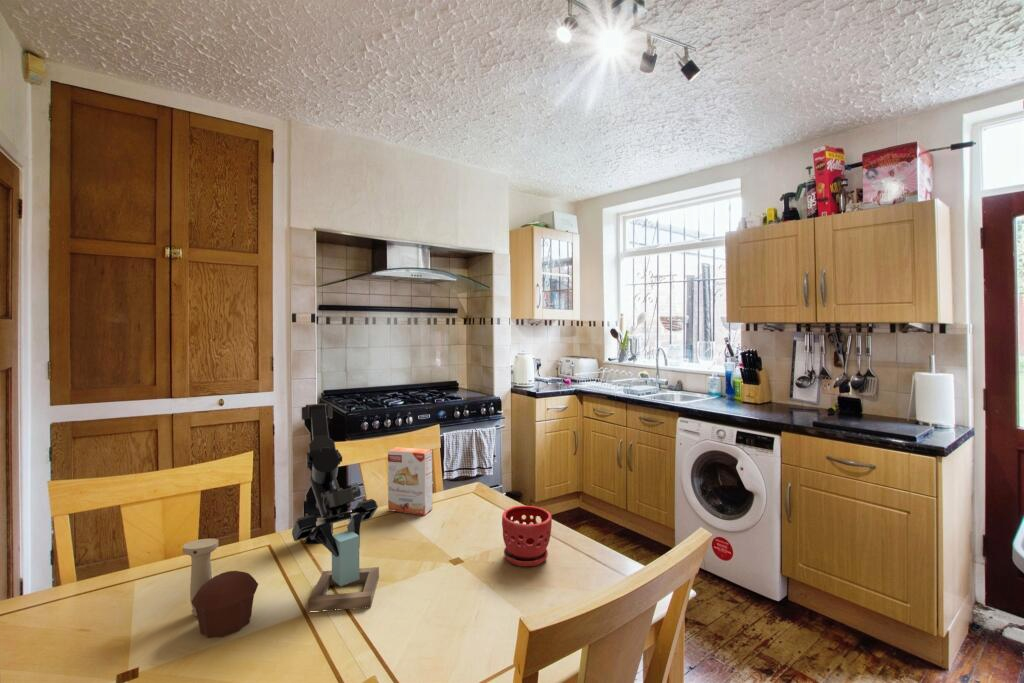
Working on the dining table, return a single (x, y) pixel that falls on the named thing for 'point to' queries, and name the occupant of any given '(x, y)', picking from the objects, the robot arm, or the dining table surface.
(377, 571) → the socket collar
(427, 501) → the cracker box
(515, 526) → the plant pot
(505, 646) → the dining table surface
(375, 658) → the dining table surface
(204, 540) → the handle
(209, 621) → the muffin
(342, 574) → the peg
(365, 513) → the robot arm
